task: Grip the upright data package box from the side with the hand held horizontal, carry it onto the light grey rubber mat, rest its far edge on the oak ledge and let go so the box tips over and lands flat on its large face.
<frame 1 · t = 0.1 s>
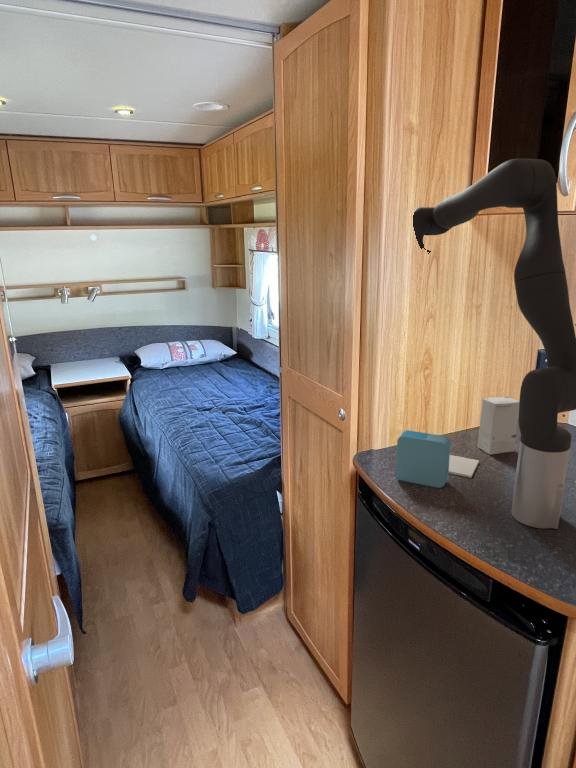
hand: (399, 329, 149), 31 cm above the counter, tool tilted 20°, fingers open, 8 cm apart
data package: (421, 481, 124), on the counter
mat: (447, 464, 132), on the counter
ledge: (416, 457, 136), on the counter
skincare box: (495, 450, 141), on the counter
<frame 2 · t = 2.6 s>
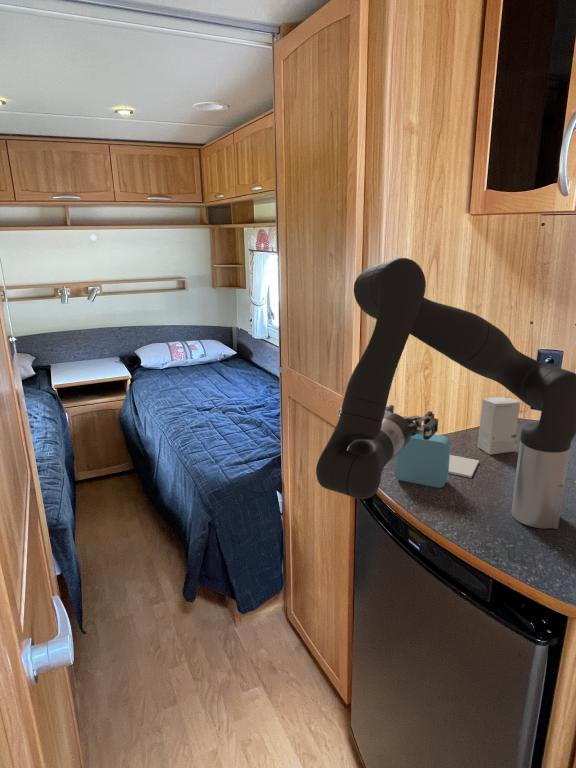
hand: (410, 412, 108), 22 cm above the counter, tool horizontal, fingers open, 8 cm apart
nothing on the counter moved.
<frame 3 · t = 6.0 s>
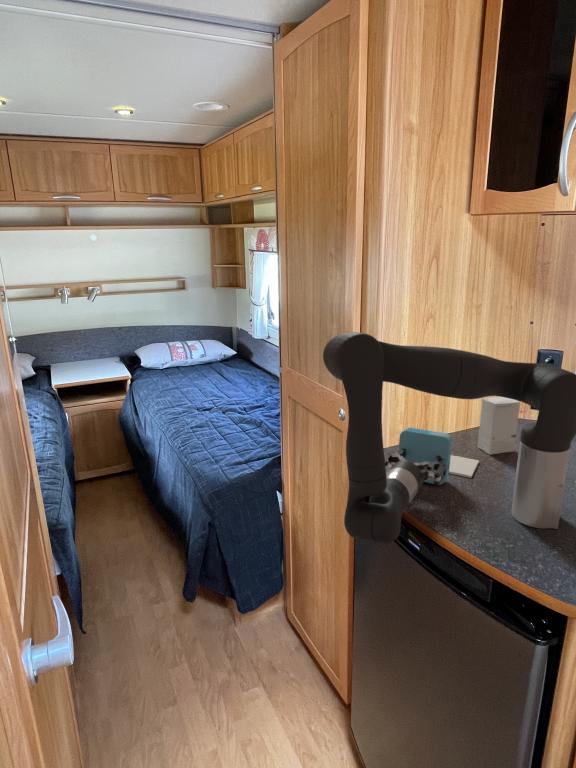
hand: (421, 455, 121), 7 cm above the counter, tool horizontal, fingers open, 8 cm apart
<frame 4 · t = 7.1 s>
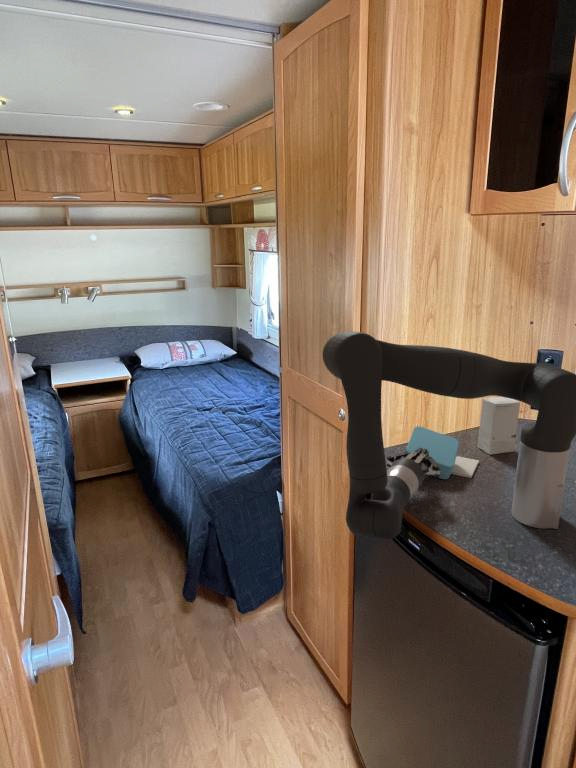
hand: (423, 451, 123), 7 cm above the counter, tool horizontal, fingers closed
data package: (426, 467, 124), point 3 cm above the counter, touching gripper, ledge
everything else where it was.
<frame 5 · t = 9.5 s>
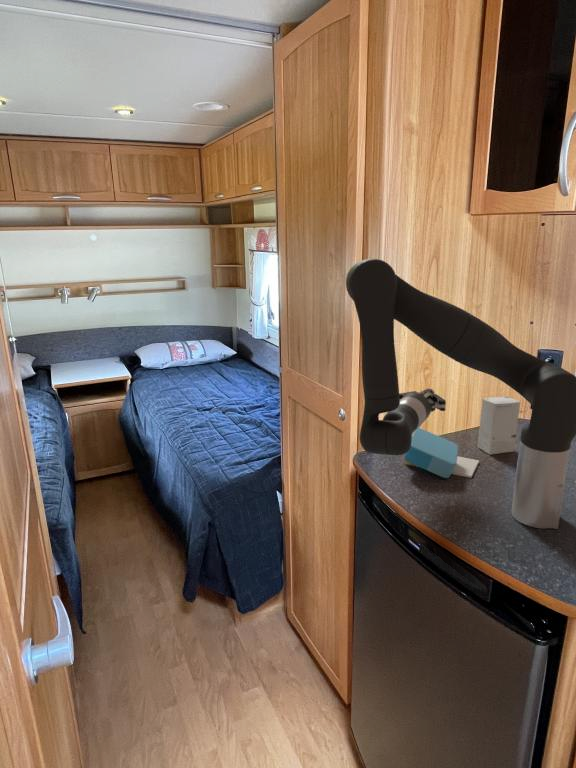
hand: (429, 392, 130), 19 cm above the counter, tool horizontal, fingers closed
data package: (428, 463, 123), point 4 cm above the counter, touching ledge, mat
everything else where it was.
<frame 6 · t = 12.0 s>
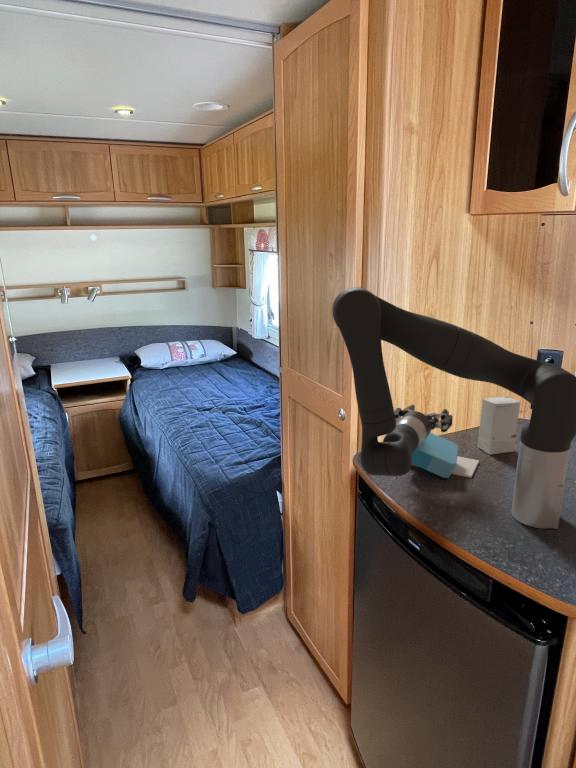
hand: (429, 410, 131), 14 cm above the counter, tool horizontal, fingers open, 8 cm apart
nothing on the counter moved.
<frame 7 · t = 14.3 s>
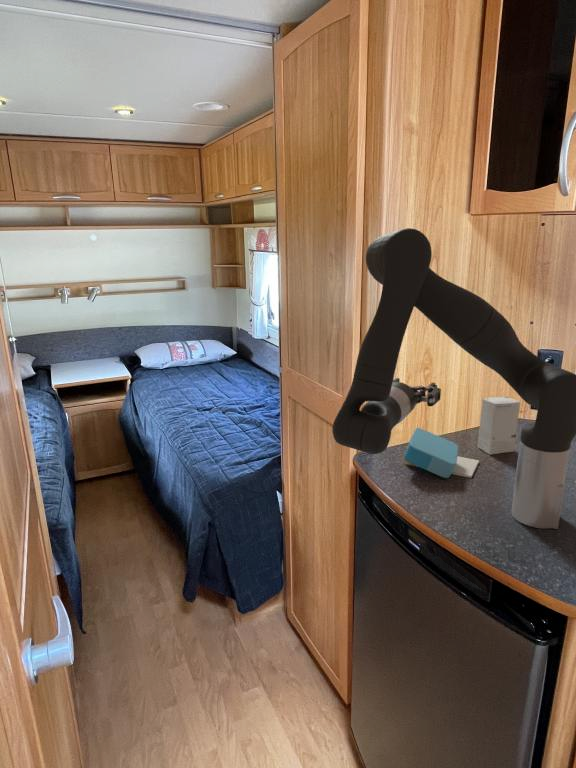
hand: (415, 384, 117), 25 cm above the counter, tool horizontal, fingers open, 8 cm apart
nothing on the counter moved.
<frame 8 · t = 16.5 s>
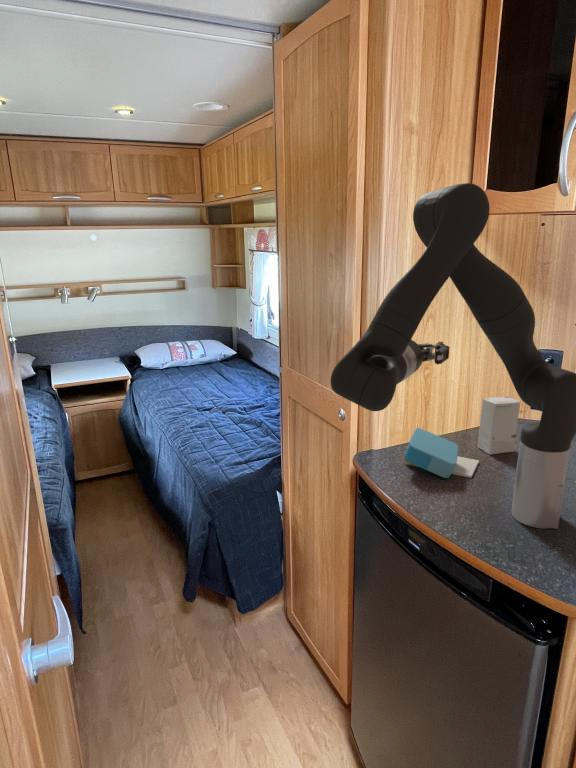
hand: (421, 344, 108), 36 cm above the counter, tool horizontal, fingers open, 8 cm apart
nothing on the counter moved.
at the end: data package tilted 87°; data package inside the target area (11.0 cm from its centre), point 4.3 cm above the counter; the gripper is holding nothing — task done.
